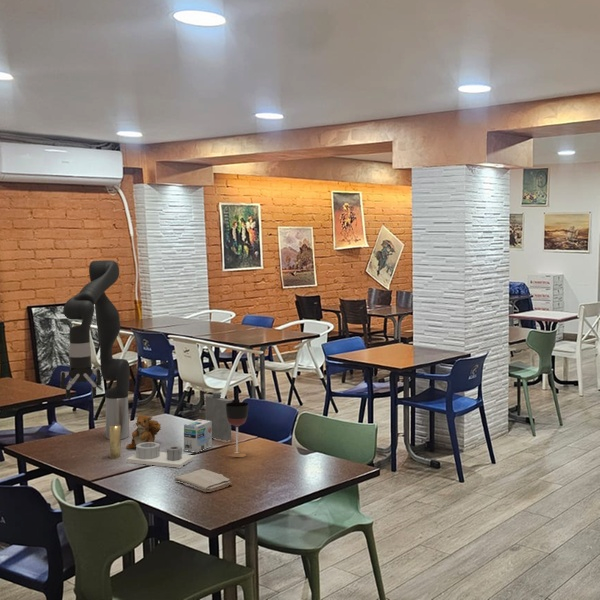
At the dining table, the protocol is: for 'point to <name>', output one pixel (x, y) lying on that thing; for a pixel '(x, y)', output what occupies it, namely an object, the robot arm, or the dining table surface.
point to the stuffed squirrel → (144, 431)
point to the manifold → (159, 455)
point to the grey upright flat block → (218, 416)
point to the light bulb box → (197, 435)
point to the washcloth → (203, 479)
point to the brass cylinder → (115, 441)
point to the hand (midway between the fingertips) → (81, 398)
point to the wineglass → (237, 415)
